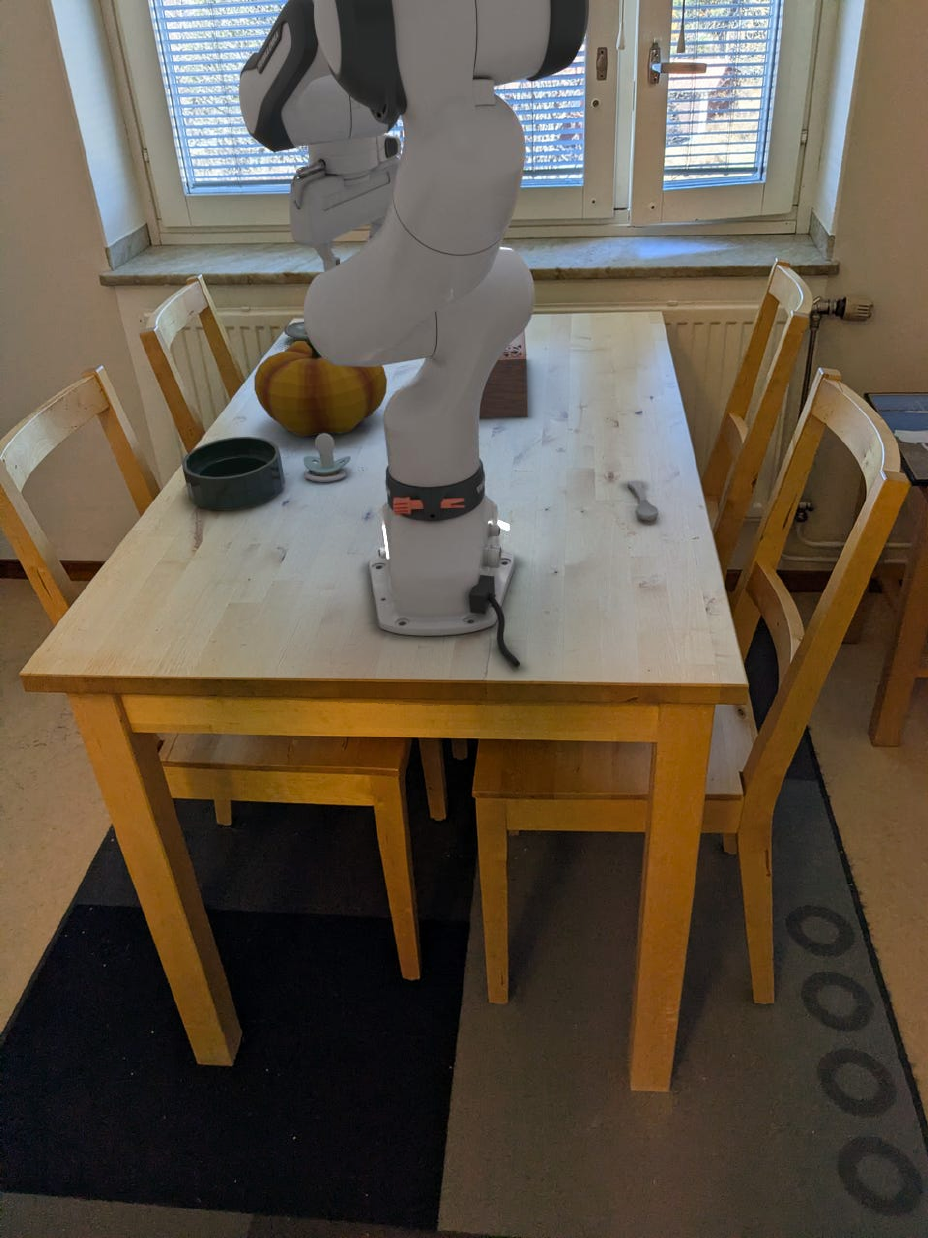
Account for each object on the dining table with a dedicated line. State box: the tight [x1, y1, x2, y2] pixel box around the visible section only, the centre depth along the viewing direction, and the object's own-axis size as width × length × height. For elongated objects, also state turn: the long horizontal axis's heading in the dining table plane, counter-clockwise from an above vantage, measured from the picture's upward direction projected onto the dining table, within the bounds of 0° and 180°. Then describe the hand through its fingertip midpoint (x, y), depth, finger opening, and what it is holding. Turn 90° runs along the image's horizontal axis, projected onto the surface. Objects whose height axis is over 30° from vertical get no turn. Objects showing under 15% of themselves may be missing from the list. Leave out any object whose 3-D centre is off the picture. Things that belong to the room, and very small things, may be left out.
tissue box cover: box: [479, 329, 529, 420], centre depth 173 cm, size 26×14×10 cm, turn 178°
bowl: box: [181, 436, 286, 511], centre depth 146 cm, size 14×14×6 cm
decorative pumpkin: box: [253, 339, 388, 437], centre depth 163 cm, size 20×22×15 cm
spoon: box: [627, 480, 659, 522], centre depth 137 cm, size 3×12×2 cm, turn 2°
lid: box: [283, 321, 309, 341], centre depth 203 cm, size 11×10×5 cm
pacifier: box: [302, 433, 351, 483], centre depth 149 cm, size 7×6×6 cm
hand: (354, 261), depth 134 cm, fingers open, 8 cm apart
